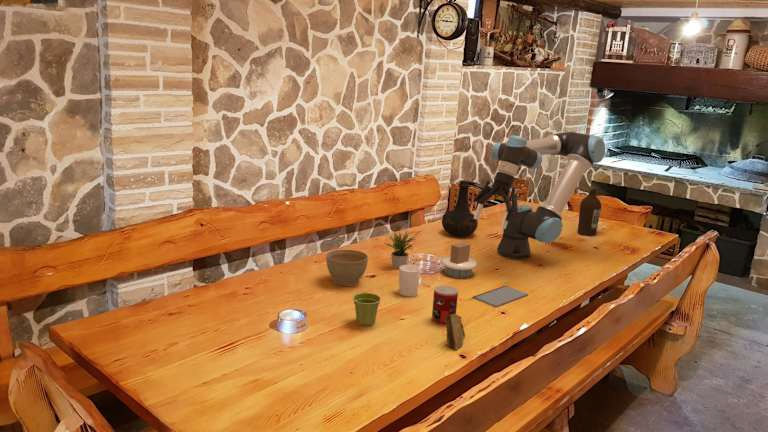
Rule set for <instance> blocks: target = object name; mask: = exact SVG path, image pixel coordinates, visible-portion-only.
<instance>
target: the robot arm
mask: <svg viewBox="0 0 768 432" xmlns="http://www.w3.org/2000/svg"><path fill="white" fill-rule="evenodd" d="M605 152H606V143H605V141H604V139H603V138H602V137H601V136H598V135H595V134H586V133H582V132H581V133H580V132H577V131H565V132H564V131H563V132H558V133H552V134H549V135H547V136H546V137H542V138H535V139H529V140H527V139H526V138H524V137H522V136H519V135H518V136H517V135H510V136H509V137H508V139H507V142H506V143H505V142H495V143H494V144H493V146H492V148H491V157H492V158H493V159H494V160H496V161H499V162H500V163H499V164H498V167H497V172H496V173H495V177H494V181H493V182H492V181H489V180H488V181H486V183H485V185H484V187H482V189H481V190H479V192H478V193H477V195H475V196H474V197H473V200H474V202H475V201H476V206H475V208H474V210H475V213H474V214H473V215H474V219H477V221H479V220H480V217H481V214H482V210H483V208H484V203H485V202H487V201H488V200H490V198H492V197H493V196H498V197H502V198H503V201H504V204H505V207H506V208H505V213H504V216H503V218H502V222H501V225H500V228H501V229H503V230H502V231H503V232H502V237H501V240H500V241H499V244H498V246H497V247H496V248H497V251H496V253H497V254H498V255H499V256H501V257H503V258H507V259H513V260H526V259H530V257H531V254H532V253H531V247H530V242H529V241H530V240H529V238H530V239H532V240H536V241H537V242H541V243H544V244H550V243H553V242H555V241H556V240H557V239H558V238H559V237H560V236H561V234H562V232H563V228H564V227H563V222H562V221H563V220H562V219H563V217H562V213H563V211H564V209H565V207H566V206H567V205H568V202H569V201H570V199H571V197H572V195H573V193H574V192H575V190H576V188H577V186H578V184H579V183H580V181H581V180H582V177H583V176H584V174H585V172H586V170H590V169H592V167H593V165H594V164H599V163H601V161H603V159H604V157H605ZM544 155H550V156H561V157H566V158H567V162H566V164H565V166H564V168H563V169H562V171H561V173H560V175H559V176H558V178H557V180H556V182H555V183H554V186H553V187H552V189H551V191H550V192H549V193H548V195H547V197H546V199H545V200H544V203H543V204H542V205H539V206H537V208H536V210H535V211H533V207H532V206H531V205H525V204H518V195H517V194H518V189H517V188H515V187H513V188H512V186H513V184H514V181H515V176H517V172H518V169H519V167H520V166H521V167H525V168H527V169H531V170H536V169H538V168H539V167H541V165H542V163H543V156H544ZM509 193H510V195H509Z"/></svg>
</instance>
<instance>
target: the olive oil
mask: <svg viewBox="0 0 768 432" xmlns="http://www.w3.org/2000/svg"><path fill="white" fill-rule="evenodd" d="M588 192H589V193H588V195H586V196H585V197H584V198H583V199H582V200H581V201H580V204H579V214H578V225H577V234H579V235H580V236H584V237H595V236H596V235H597V231H598V227H599V220H600V215H601V210H602V202H601V200H600V199H599V198H598V196H597V187H595V186H594V187H593V186H591V187H590V188H589V191H588Z"/></svg>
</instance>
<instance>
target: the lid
mask: <svg viewBox="0 0 768 432" xmlns="http://www.w3.org/2000/svg"><path fill="white" fill-rule="evenodd" d="M450 247H451V248H450V255H448V256H444V257H442V259H441V261H442V262H441V264H442V265H443V266H444V267H445V266H446V267H449V268H452V269H458V270H469V269H473V270H474V269H475V268H476V267H477V263H478V262H477V261H476V259H474V258H471V257H470V251H471V244H469V243H466V242H457V243H455V244H451V246H450Z"/></svg>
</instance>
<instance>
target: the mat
mask: <svg viewBox="0 0 768 432" xmlns="http://www.w3.org/2000/svg"><path fill="white" fill-rule="evenodd" d="M527 296H529V293H527V292H525V291H521V290H518V289H516V288H513V287H510V286H509V285H503V286H501V287H498V288H494V289H492V290H489V291H486V292H482V293H480V294H477V295H474V296H472V297H471V298H472V299H474V300H477V301H480V302H482V303H484V304H486V305H490V306H492V307H494V308H499V307H500V306H503V305H506V304H509V303H511V302H514V301H517V300H519V299H522V298H525V297H527Z"/></svg>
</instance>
